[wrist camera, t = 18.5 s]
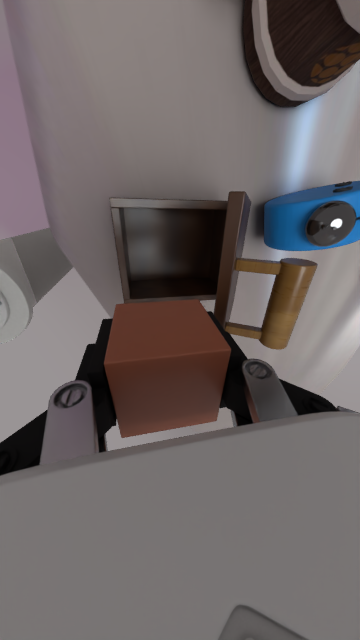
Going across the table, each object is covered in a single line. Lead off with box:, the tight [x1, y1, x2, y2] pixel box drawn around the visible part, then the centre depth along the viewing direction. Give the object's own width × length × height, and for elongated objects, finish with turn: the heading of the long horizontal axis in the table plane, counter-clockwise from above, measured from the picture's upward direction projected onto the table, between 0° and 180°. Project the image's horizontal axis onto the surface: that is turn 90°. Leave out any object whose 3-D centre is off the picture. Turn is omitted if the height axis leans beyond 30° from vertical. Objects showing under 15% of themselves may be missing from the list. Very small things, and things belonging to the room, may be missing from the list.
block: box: [104, 299, 231, 438], centre depth 9 cm, size 4×4×4 cm
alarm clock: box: [264, 181, 360, 251], centre depth 27 cm, size 13×6×15 cm, turn 103°
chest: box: [109, 198, 228, 304], centre depth 29 cm, size 16×13×9 cm
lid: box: [214, 192, 317, 349], centre depth 19 cm, size 17×13×5 cm
